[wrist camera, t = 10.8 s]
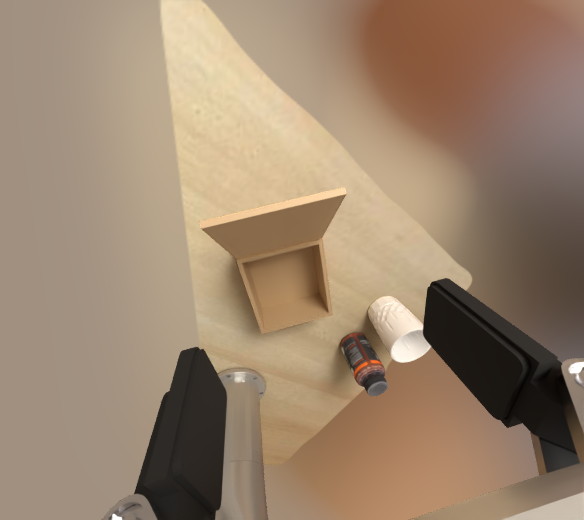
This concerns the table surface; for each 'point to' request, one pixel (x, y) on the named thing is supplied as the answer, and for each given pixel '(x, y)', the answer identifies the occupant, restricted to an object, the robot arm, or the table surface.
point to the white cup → (398, 329)
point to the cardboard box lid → (275, 224)
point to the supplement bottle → (364, 363)
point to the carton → (287, 285)
